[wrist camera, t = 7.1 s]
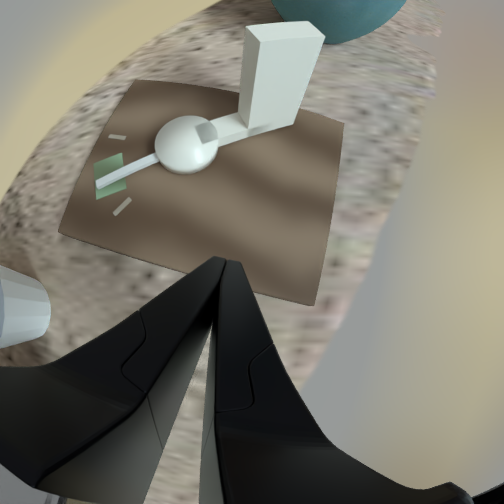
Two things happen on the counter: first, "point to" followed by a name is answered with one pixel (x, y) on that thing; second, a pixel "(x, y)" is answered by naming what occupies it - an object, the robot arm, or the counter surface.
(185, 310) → the robot arm
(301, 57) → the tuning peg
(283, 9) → the teal bowl
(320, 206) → the dial board
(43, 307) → the white cup
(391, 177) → the counter surface
